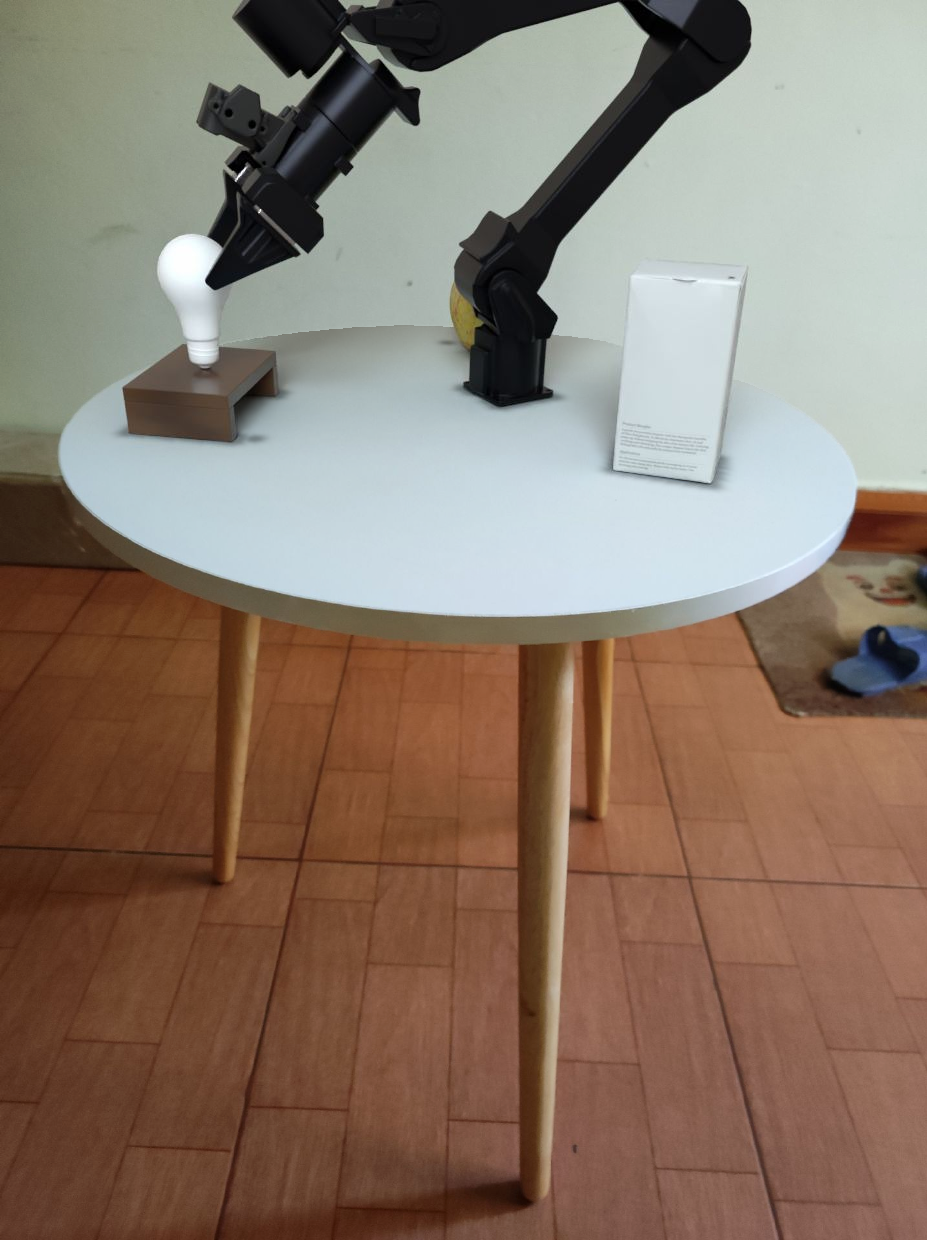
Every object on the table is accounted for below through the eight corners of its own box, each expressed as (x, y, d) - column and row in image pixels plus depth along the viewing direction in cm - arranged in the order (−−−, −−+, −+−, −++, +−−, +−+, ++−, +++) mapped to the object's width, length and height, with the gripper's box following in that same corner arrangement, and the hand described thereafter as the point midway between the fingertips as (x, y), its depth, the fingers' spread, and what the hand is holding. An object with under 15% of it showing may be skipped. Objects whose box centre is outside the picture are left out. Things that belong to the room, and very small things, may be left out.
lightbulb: (246, 358, 89) (236, 228, 83) (234, 379, 84) (222, 242, 78) (178, 356, 89) (163, 226, 83) (161, 377, 84) (143, 240, 78)
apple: (545, 361, 105) (552, 262, 100) (465, 367, 102) (468, 266, 97) (511, 337, 112) (516, 244, 107) (436, 343, 109) (437, 247, 104)
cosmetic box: (721, 458, 83) (755, 264, 75) (711, 488, 78) (747, 282, 69) (622, 443, 85) (645, 253, 77) (606, 471, 80) (628, 270, 72)
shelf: (278, 392, 94) (276, 350, 92) (231, 442, 83) (227, 395, 80) (187, 385, 95) (182, 343, 92) (128, 433, 84) (121, 386, 81)
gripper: (241, 38, 83) (122, 183, 86) (268, 45, 68) (123, 222, 71) (338, 142, 89) (224, 274, 92) (383, 170, 74) (245, 328, 77)
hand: (205, 273), depth 83 cm, fingers open, 9 cm apart
